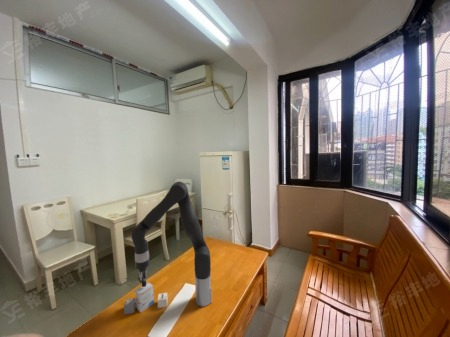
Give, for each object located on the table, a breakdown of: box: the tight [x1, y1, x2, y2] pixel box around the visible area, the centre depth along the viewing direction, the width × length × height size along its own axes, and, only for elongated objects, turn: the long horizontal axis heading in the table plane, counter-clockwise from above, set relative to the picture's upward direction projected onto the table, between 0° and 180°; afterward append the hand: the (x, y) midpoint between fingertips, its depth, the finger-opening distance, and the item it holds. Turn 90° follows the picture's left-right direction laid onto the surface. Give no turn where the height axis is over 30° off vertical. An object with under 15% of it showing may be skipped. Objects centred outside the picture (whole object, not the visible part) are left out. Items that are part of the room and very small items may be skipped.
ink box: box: [134, 282, 155, 313], centre depth 111 cm, size 9×5×12 cm, turn 141°
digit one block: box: [157, 292, 169, 309], centre depth 112 cm, size 5×5×5 cm
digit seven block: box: [123, 297, 137, 315], centre depth 108 cm, size 5×5×5 cm
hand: (144, 285), depth 110 cm, fingers closed
